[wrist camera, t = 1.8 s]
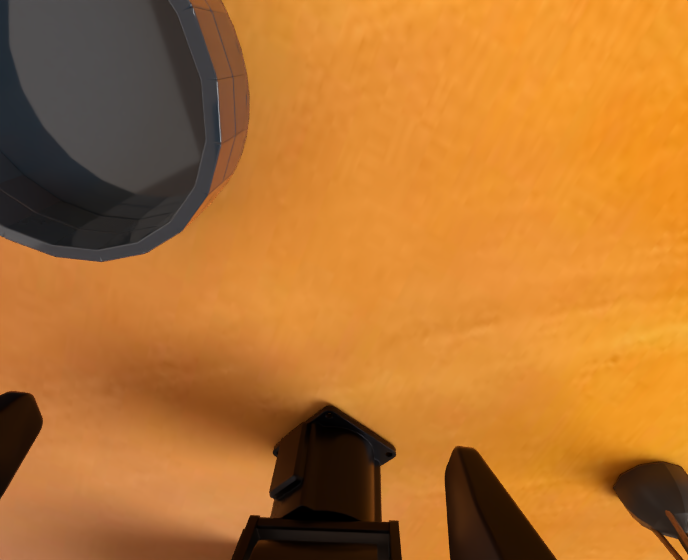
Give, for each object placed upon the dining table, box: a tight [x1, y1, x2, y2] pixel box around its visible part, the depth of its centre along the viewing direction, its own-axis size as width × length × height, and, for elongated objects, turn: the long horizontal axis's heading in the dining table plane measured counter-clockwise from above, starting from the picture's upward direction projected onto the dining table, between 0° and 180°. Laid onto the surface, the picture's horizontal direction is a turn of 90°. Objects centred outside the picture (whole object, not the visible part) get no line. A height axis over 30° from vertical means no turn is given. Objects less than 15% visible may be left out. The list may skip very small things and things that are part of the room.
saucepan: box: [0, 0, 249, 262], centre depth 15 cm, size 13×13×4 cm
